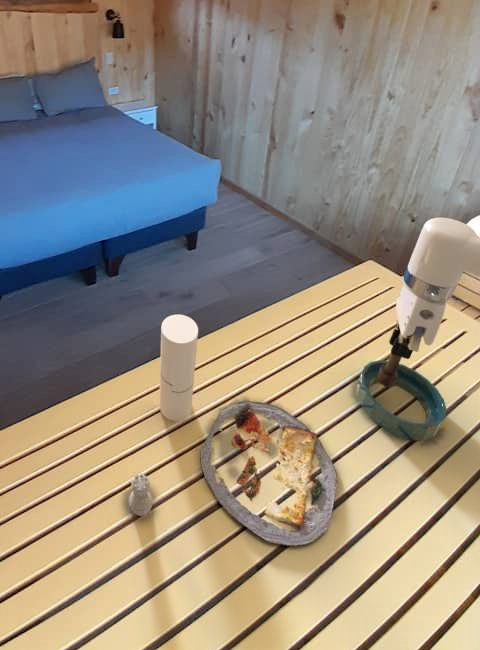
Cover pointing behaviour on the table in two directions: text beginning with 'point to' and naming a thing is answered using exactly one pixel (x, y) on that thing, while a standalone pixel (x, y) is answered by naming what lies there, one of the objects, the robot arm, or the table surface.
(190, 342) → the cylindrical container
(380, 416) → the ring
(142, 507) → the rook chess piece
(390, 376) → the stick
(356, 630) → the table surface
